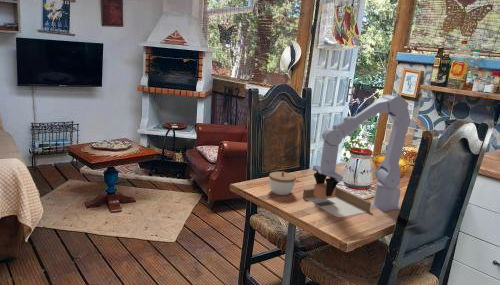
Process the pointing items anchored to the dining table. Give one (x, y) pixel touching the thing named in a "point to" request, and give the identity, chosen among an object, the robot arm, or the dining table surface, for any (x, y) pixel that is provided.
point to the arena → (341, 203)
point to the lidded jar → (281, 182)
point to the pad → (323, 202)
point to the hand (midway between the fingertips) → (324, 193)
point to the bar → (322, 191)
